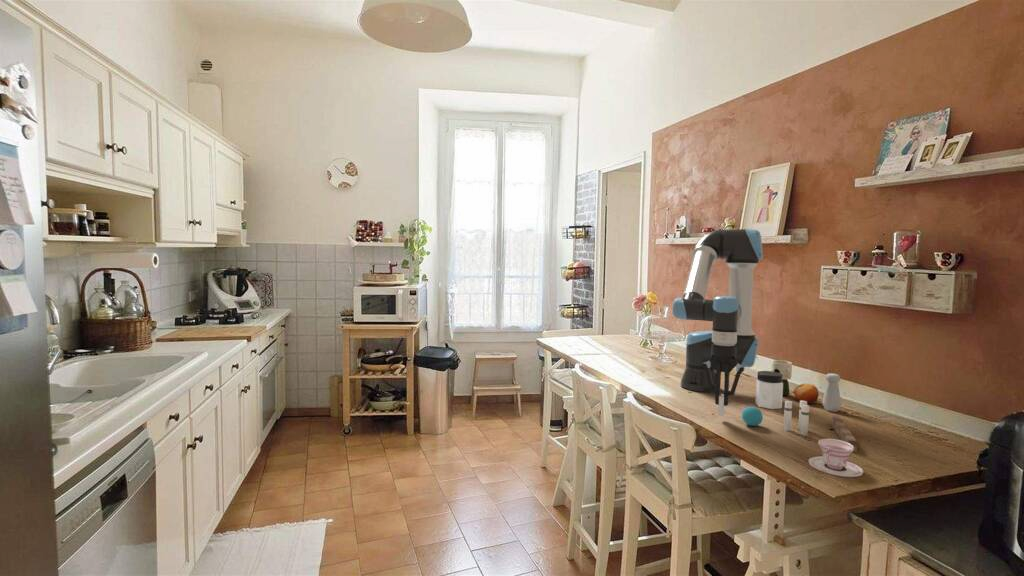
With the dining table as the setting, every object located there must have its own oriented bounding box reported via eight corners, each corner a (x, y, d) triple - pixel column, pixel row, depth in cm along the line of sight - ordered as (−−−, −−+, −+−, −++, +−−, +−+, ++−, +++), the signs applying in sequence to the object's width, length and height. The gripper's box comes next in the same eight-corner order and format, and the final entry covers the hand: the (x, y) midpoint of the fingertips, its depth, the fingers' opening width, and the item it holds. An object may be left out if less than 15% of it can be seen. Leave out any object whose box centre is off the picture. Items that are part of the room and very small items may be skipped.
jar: (751, 405, 183) (753, 373, 182) (758, 401, 189) (760, 369, 188) (778, 411, 176) (780, 377, 176) (785, 406, 182) (786, 373, 182)
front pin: (782, 428, 158) (783, 400, 158) (788, 428, 158) (789, 400, 158) (785, 431, 156) (787, 402, 155) (792, 431, 156) (793, 402, 156)
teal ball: (738, 422, 164) (738, 404, 164) (756, 422, 164) (756, 404, 164) (747, 428, 158) (748, 409, 158) (766, 428, 158) (766, 409, 158)
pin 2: (798, 433, 154) (799, 404, 154) (805, 433, 154) (806, 404, 154) (802, 435, 152) (804, 406, 151) (809, 435, 152) (810, 406, 152)
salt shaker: (843, 410, 178) (845, 374, 177) (838, 413, 174) (840, 376, 173) (824, 406, 182) (826, 371, 181) (819, 409, 178) (821, 373, 177)
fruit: (827, 402, 183) (816, 383, 183) (806, 411, 184) (795, 392, 185) (818, 396, 191) (808, 377, 191) (799, 405, 192) (788, 387, 193)
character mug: (763, 390, 203) (765, 358, 202) (781, 390, 204) (782, 359, 203) (779, 398, 192) (781, 364, 191) (797, 398, 193) (799, 364, 192)
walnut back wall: (856, 452, 140) (857, 441, 140) (848, 450, 141) (848, 440, 140) (838, 425, 162) (839, 416, 162) (831, 424, 163) (832, 415, 162)
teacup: (819, 455, 138) (821, 433, 138) (870, 470, 128) (872, 446, 128) (799, 465, 131) (801, 442, 130) (852, 482, 121) (853, 457, 121)
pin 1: (796, 428, 159) (798, 400, 158) (803, 428, 159) (804, 400, 158) (800, 430, 157) (802, 402, 156) (807, 430, 157) (808, 402, 156)
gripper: (701, 343, 163) (698, 414, 165) (745, 347, 157) (742, 421, 159) (704, 340, 170) (701, 408, 172) (746, 344, 164) (743, 414, 165)
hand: (721, 414), depth 165 cm, fingers closed
